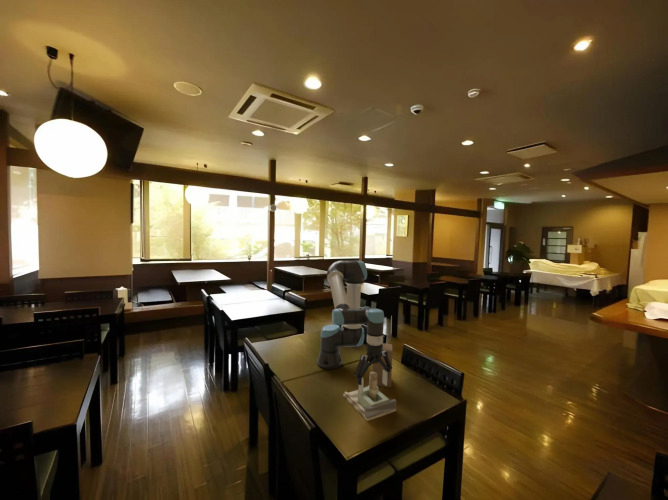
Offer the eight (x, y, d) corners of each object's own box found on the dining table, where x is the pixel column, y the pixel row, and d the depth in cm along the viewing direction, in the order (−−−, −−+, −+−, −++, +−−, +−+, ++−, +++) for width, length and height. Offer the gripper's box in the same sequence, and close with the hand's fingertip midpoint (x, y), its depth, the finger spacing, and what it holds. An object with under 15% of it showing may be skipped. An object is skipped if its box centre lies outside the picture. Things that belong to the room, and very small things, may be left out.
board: (343, 395, 140) (343, 386, 139) (369, 388, 147) (369, 379, 147) (367, 421, 121) (367, 409, 121) (395, 411, 129) (396, 400, 128)
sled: (357, 401, 134) (357, 389, 133) (374, 396, 138) (374, 384, 138) (370, 414, 124) (371, 401, 123) (388, 408, 128) (389, 396, 128)
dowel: (367, 401, 132) (368, 372, 131) (373, 399, 134) (374, 371, 133) (371, 405, 129) (372, 376, 128) (377, 403, 130) (378, 374, 130)
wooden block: (391, 388, 148) (392, 351, 147) (372, 385, 150) (373, 349, 149) (391, 378, 158) (392, 343, 157) (373, 376, 160) (374, 342, 159)
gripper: (356, 350, 121) (354, 398, 122) (400, 341, 132) (399, 385, 133) (347, 344, 127) (345, 389, 128) (390, 336, 139) (389, 378, 140)
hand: (373, 387), depth 131 cm, fingers open, 13 cm apart
